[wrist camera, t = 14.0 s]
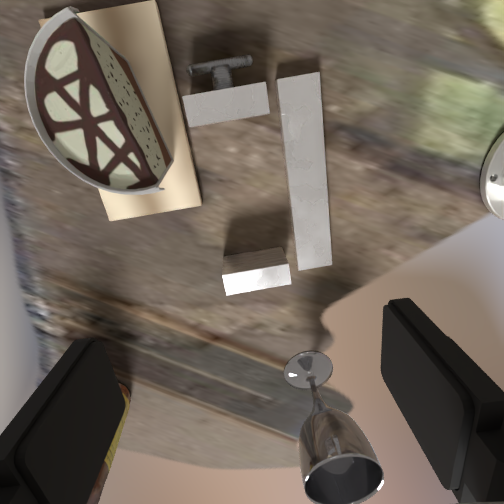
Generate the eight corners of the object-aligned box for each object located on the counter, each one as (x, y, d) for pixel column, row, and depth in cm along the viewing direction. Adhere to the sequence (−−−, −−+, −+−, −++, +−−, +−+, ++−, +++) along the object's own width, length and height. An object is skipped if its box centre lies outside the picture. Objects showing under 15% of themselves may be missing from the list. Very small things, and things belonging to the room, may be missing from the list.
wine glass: (323, 340, 42) (368, 444, 28) (343, 378, 45) (394, 490, 31) (271, 363, 43) (290, 476, 29) (295, 399, 46) (323, 517, 32)
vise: (313, 48, 29) (329, 33, 24) (328, 259, 37) (342, 278, 33) (183, 71, 29) (174, 60, 24) (227, 277, 37) (227, 298, 33)
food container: (57, 68, 27) (-31, 38, 18) (119, 41, 27) (61, -4, 18) (126, 196, 32) (83, 224, 23) (180, 175, 32) (159, 195, 22)
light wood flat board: (157, 4, 27) (154, -1, 26) (202, 203, 34) (201, 205, 33) (45, 23, 27) (38, 20, 26) (113, 218, 34) (109, 221, 33)
